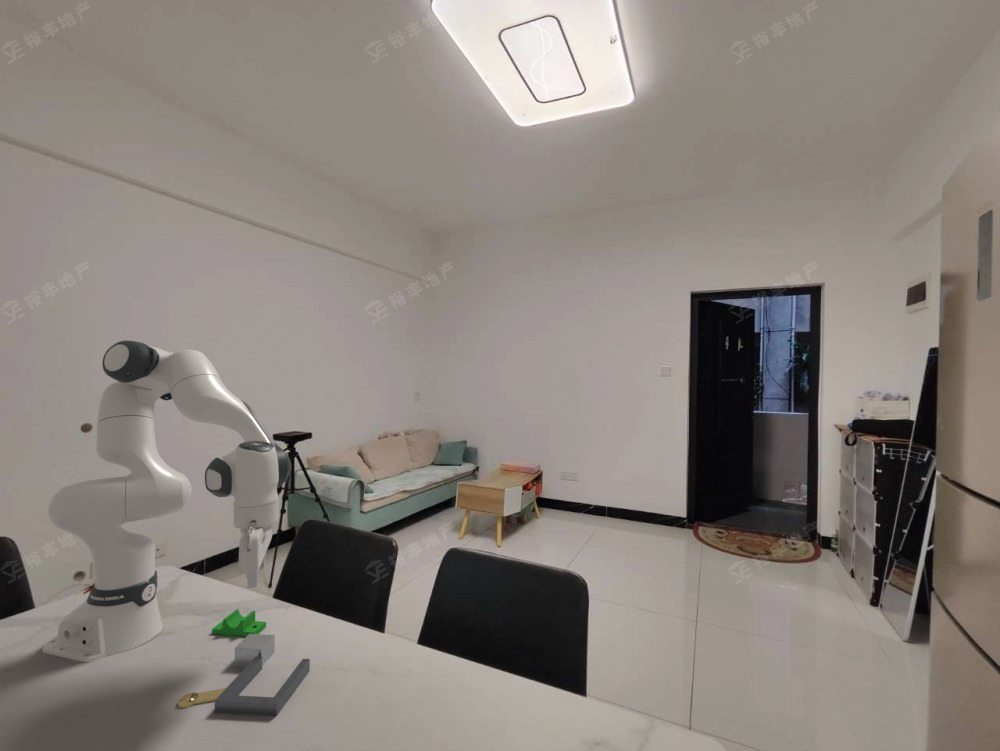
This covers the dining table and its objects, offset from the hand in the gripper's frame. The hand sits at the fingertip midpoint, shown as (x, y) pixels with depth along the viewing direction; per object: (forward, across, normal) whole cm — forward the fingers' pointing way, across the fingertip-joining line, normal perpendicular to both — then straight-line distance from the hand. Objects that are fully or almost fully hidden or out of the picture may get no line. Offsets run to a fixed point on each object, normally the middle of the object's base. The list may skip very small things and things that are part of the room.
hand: (256, 576), depth 96 cm
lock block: (+19, 0, 0) cm, 19 cm away
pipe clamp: (+15, +18, +6) cm, 25 cm away
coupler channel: (+19, -10, -4) cm, 22 cm away
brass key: (+19, -10, +7) cm, 23 cm away
